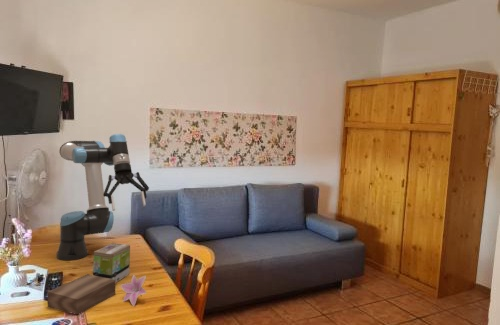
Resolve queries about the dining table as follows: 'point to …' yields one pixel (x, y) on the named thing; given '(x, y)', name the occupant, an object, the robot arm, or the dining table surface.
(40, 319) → the dining table surface
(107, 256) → the tea box
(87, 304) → the walnut block
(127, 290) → the lily
